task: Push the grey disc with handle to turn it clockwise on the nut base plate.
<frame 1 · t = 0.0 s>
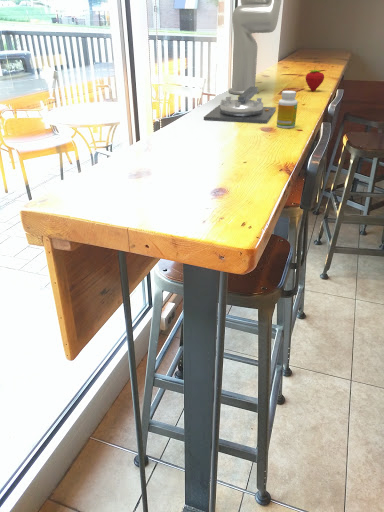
nut base plate: (241, 115, 136), on the table
grey disc with handle: (246, 100, 140), point 3 cm above the table, hinge at 0.0°
supplement bottle: (285, 127, 122), on the table
strawberry: (313, 91, 173), on the table
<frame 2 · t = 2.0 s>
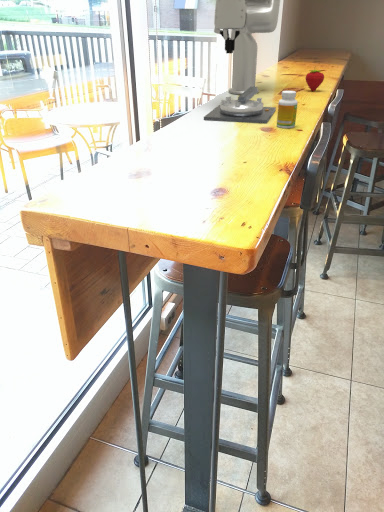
hand: (229, 53, 137), 18 cm above the table, tool pointing down, fingers closed
nothing on the table moved.
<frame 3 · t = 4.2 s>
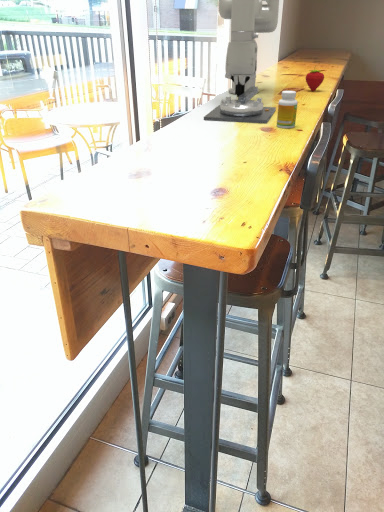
hand: (239, 96, 143), 4 cm above the table, tool pointing down, fingers closed
grey disc with handle: (246, 100, 140), point 3 cm above the table, hinge at 0.3°, touching gripper
everything else where it was.
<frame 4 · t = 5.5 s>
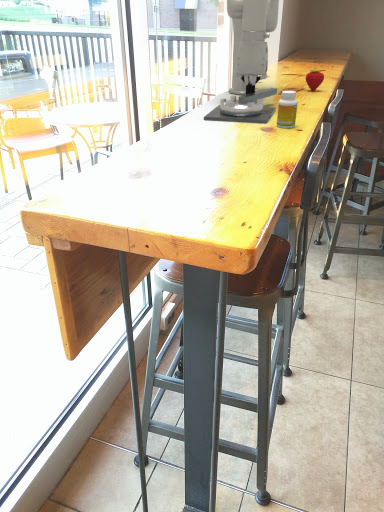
hand: (250, 96, 142), 4 cm above the table, tool pointing down, fingers closed
grey disc with handle: (253, 100, 139), point 3 cm above the table, hinge at 20.2°, touching gripper
everything else where it was.
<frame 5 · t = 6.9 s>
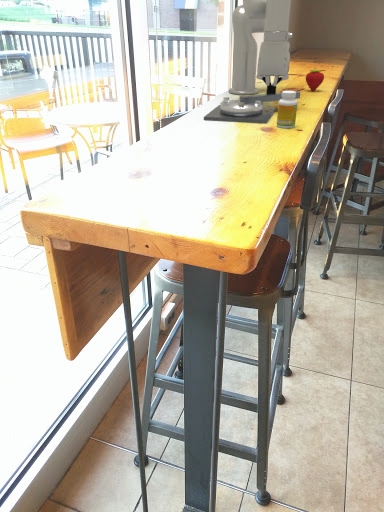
hand: (270, 97, 140), 4 cm above the table, tool pointing down, fingers closed
grey disc with handle: (261, 102, 136), point 3 cm above the table, hinge at 49.3°, touching gripper
everything else where it was.
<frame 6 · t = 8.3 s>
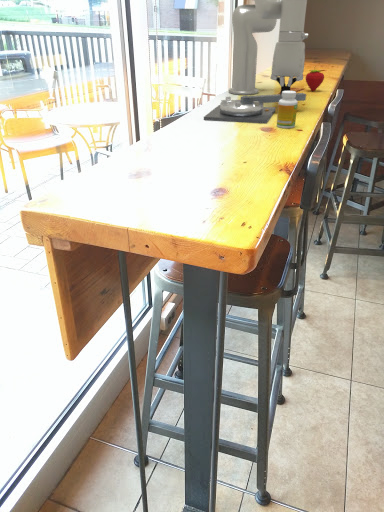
hand: (284, 98, 139), 4 cm above the table, tool pointing down, fingers closed
grey disc with handle: (263, 102, 135), point 3 cm above the table, hinge at 59.4°, touching gripper
everything else where it was.
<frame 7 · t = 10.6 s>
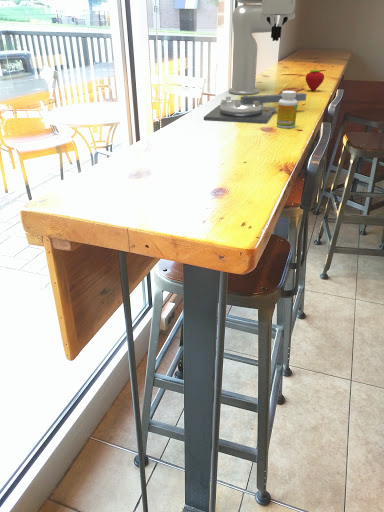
hand: (275, 40, 132), 21 cm above the table, tool pointing down, fingers closed
grey disc with handle: (263, 103, 135), point 3 cm above the table, hinge at 59.7°
everything else where it was.
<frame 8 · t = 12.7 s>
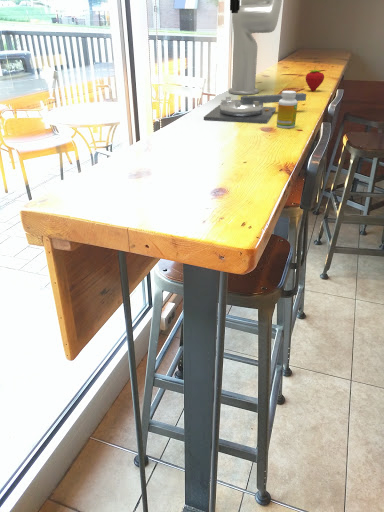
hand: (234, 12, 140), 29 cm above the table, tool pointing down, fingers closed
nothing on the table moved.
at the end: grey disc with handle at +60° (first picture: +0°) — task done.
